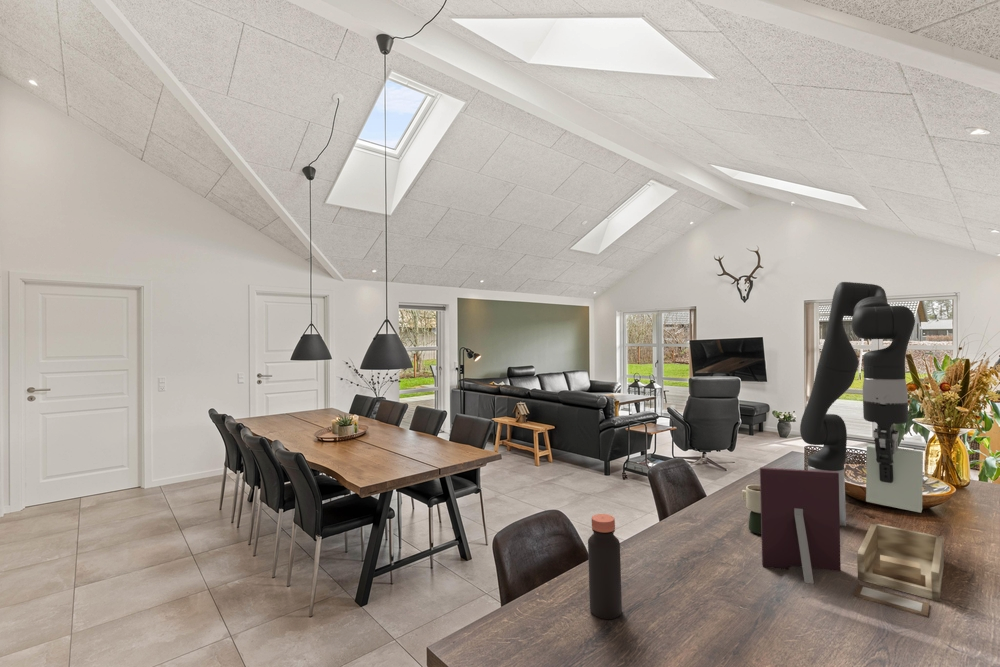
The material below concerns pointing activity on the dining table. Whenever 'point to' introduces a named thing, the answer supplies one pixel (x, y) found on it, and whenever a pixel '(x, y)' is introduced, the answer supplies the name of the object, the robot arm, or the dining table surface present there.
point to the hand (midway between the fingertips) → (887, 479)
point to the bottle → (604, 568)
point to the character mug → (753, 506)
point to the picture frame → (800, 520)
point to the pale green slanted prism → (896, 480)
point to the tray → (906, 548)
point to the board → (892, 600)
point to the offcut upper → (900, 567)
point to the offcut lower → (899, 576)
